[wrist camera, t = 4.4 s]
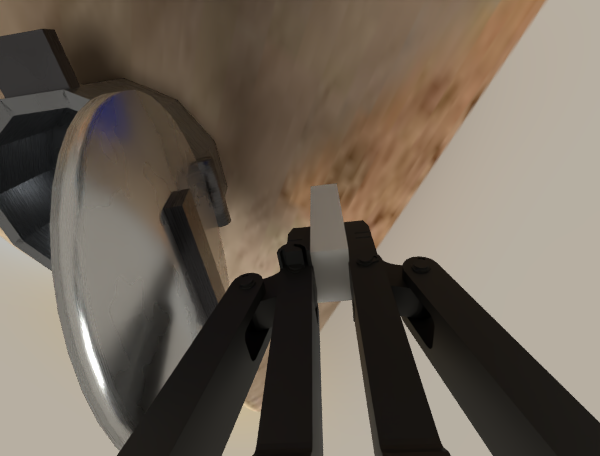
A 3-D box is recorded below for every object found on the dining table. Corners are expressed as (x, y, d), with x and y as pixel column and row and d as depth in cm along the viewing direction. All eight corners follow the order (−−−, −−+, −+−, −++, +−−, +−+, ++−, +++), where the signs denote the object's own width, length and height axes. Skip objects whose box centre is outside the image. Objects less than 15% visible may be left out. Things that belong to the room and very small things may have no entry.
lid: (-137, 160, 4) (-15, 139, 4) (158, 78, 18) (186, 74, 18) (202, 546, 12) (243, 536, 12) (227, 286, 26) (246, 282, 26)
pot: (-15, 53, 24) (-124, 57, 18) (203, 15, 22) (163, 5, 16) (111, 275, 35) (70, 322, 29) (263, 261, 34) (252, 308, 28)
